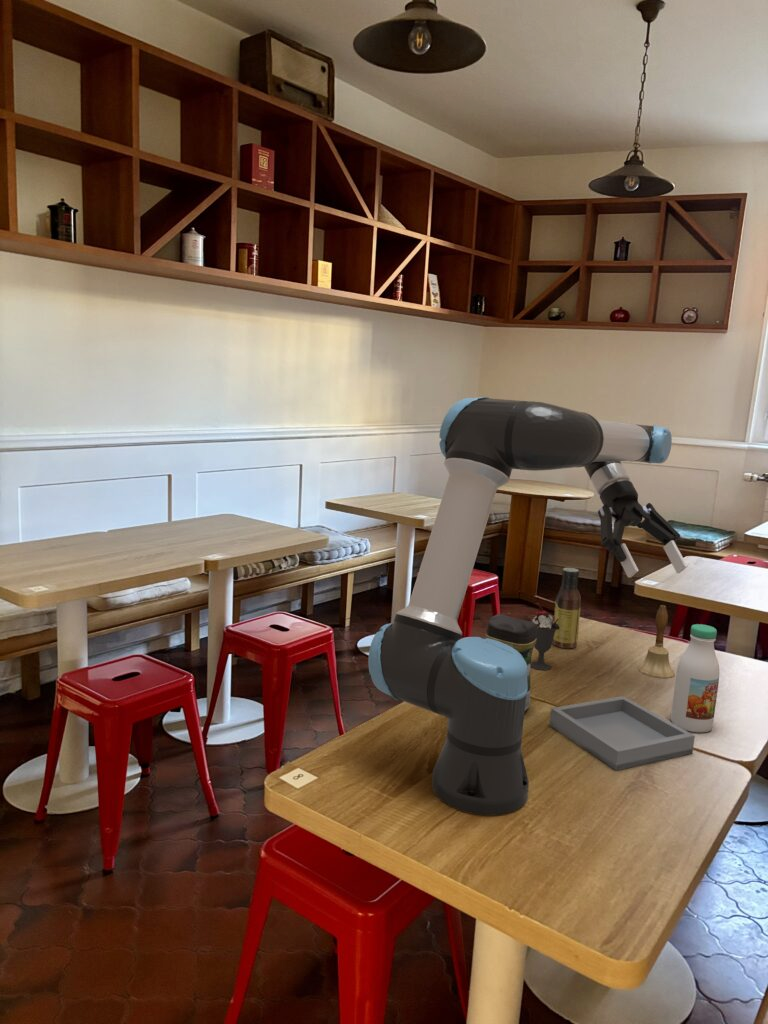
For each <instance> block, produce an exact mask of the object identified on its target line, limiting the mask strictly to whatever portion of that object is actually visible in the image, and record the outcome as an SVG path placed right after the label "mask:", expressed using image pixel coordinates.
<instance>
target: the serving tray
mask: <svg viewBox="0 0 768 1024" xmlns="http://www.w3.org/2000/svg"><path fill="white" fill-rule="evenodd" d="M549 726H550V728H551V727H552V728H553V729H555V730H556V731H557V732H558V733H560V734H561V735H563V736H564V737H566V738H567V739H569V740H570V741H572V742H573V743H574V744H576V745H577V746H579V747H581V748H582V749H584V750H585V752H586V751H587V752H588V753H589V754H591V755H592V756H593V757H595V758H596V759H598V760H599V761H601V762H602V763H604V764H606V765H607V766H608V767H609V768H611V769H612V770H614V771H615V772H616V771H617V772H618V771H620V770H625V769H631V768H635V767H639V766H644V765H648V764H652V763H657V762H661V761H666V760H670V759H675V758H680V757H683V756H688V755H693V754H694V753H693V752H694V746H695V745H694V744H695V738H696V735H695V734H693V733H691V732H690V731H687V730H684V729H682V728H680V727H678V726H677V725H675V724H673V723H672V721H669V719H666V718H664V717H662V716H660V715H659V714H657V713H655V712H653V711H651V710H650V709H648V708H645V707H644V706H642V705H640V704H639V703H637V702H636V701H633V700H632V699H630V698H628V697H626V696H624V695H622V696H616V697H609V698H604V699H597V700H592V701H586V702H580V703H573V704H569V705H568V704H567V705H563V706H555V707H551V708H550V718H549Z"/></svg>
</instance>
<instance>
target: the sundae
mask: <svg viewBox="0 0 768 1024" xmlns="http://www.w3.org/2000/svg"><path fill="white" fill-rule="evenodd" d="M535 605H536V606H538V607H539V610H538V611H536V613H535V614H536V616H534V617H533V619H532V621H531V622H534V623H535V625H536V643H535V646H534V648H535V650H537V652H538V658H537V660H536V661H531V667H530V668H532V669H534V670H538V671H548V670H551V669H552V666H551V664H549V663H547V662H545V653H547V652H548V651H549V650H550V649H552V646H553V638H554V634H555V631H556V630H558V629H560V628H559V625H558V624H557V623H556V622H557V621H558V619H557V620H556V621H555V622H554V616H552V615H551V614H550V613H548V612H547V611H546V610H544V609H543V608H542V606H541V605H540V603H539V602H536V603H535ZM541 610H542V611H541Z"/></svg>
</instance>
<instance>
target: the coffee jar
mask: <svg viewBox="0 0 768 1024" xmlns="http://www.w3.org/2000/svg"><path fill="white" fill-rule="evenodd" d="M486 638H489V639H493V640H496V641H499V642H502V643H504V644H506V645H508V646H510V647H512V648H514V649H515V650H517V651H518V652H519V653H520V654H521V655H522V657H523V658H524V660H525V662H526V664H527V683H528V691H527V693H526V703H525V712H526V711H527V710H528V709H529V707H530V704H531V703H530V702H531V668H532V667H531V662H532V654H533V650H534V648H535V647H534V646H535V643H536V625H535V623H534V622H532V621H529V620H525V619H522V618H521V619H520V618H518V617H513V616H508V615H505V614H502V613H498V614H495V615H493V616H492V617H490V618H489V620H488V623H487V627H486V631H485V639H486Z"/></svg>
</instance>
